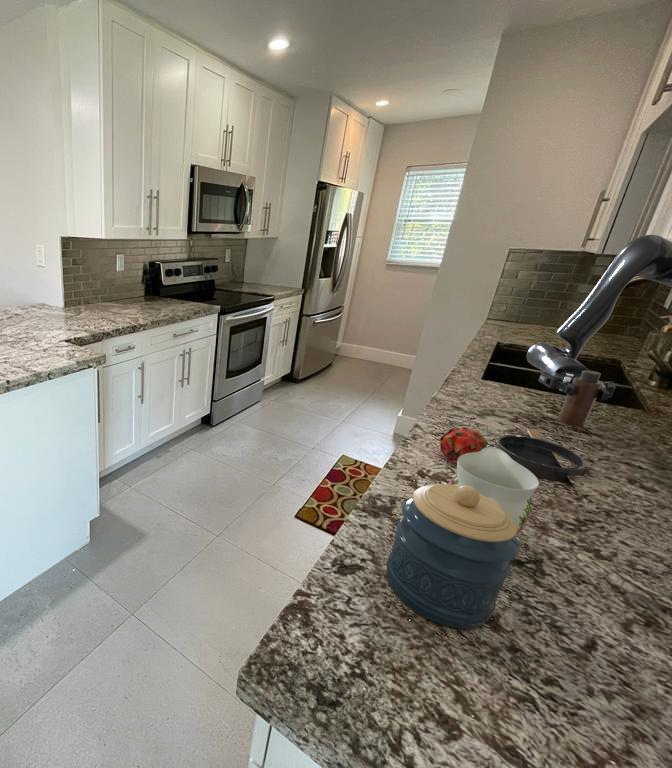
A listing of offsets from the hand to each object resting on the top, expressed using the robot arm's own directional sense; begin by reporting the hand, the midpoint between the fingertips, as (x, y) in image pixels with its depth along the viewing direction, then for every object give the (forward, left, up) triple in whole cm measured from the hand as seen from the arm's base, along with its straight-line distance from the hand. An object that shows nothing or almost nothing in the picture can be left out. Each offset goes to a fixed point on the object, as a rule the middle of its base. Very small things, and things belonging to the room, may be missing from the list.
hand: (588, 394), depth 94 cm
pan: (+8, +12, -15) cm, 21 cm away
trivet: (0, -3, -15) cm, 15 cm away
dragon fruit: (+23, +20, -15) cm, 34 cm away
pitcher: (+23, +50, -15) cm, 57 cm away
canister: (+29, +66, -15) cm, 74 cm away
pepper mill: (0, -3, -8) cm, 9 cm away
